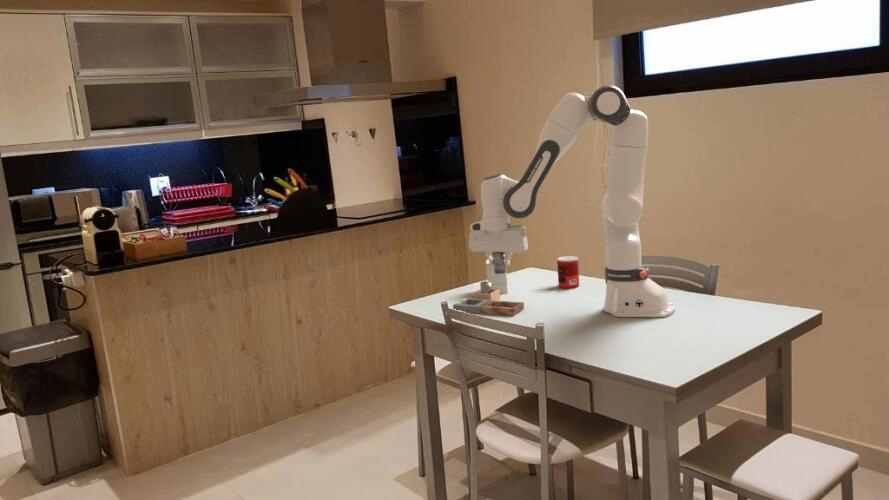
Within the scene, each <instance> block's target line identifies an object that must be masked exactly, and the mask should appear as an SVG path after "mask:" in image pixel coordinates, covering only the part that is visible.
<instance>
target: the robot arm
mask: <svg viewBox="0 0 889 500" xmlns="http://www.w3.org/2000/svg"><path fill="white" fill-rule="evenodd" d="M591 120H592V121H593V120H594V121H599V122H601V123H607V124H608V125H610V127H611V130H612V131H611V132H612V134H611V135H612V136H611V143H610V144H611V145H610V149H609V150H610V152H609V158H608V160H609V161H608V168H607V192H606V193H605V195H604V197H603V198H602V201H601V212H602V213H601V214H602V226H603V237H604V243H605V244H604V246H605V264H606V266H605V267H604V279H605V280H604V281H605V284H606V287H605V288H606V291H605V297H604V304H603V306H602V307H603V308H602V309H603V311H604V312H606V313H609V314H611V315H612V316H614V317H618V318H664V317H665V318H666V317H669V316H670V315H672V314H673V313H674V312H676V304H675V303H673V302H669V299H668V295H667V292H666V289H664V288H663V286H661V285H659V284H658V283H656V282H655V281H653V280H652V279H651V278H649V267H647V268H646V267H644V265H642V245H641V243H642V242H641V241H642V240H641V237H640V229H639V221H640V220H641V218H642V216H643V207H644V192H645V191H644V188H645V168H646V160H647V154H648V153H647V152H648V148H649V147H648V146H649V145H648V144H649V119H648V117H647V115H646V114H645V113H644V112H642V111H640V110H637V109H631V106H630V105H629V102H628V100H627V98H626V95H625V94H624V92H623V91H622V90H621V88H619V87H617V86H615V85H610V84H609V85H608V84H607V85H602V86H600V87H598V88H596V90H594V91H593V92H592V93H590V94H589V95H588V96H584V95H582V94H581V93H577V92H568V93H566V94H565V95H563V97H561V99H560V100H559V101H558V102H557V104H556V105H555V106H554V108H553V109H552V111H551V113H550V114H549V115H548V118H546V121H545V123H544V125H543V127H542V130H541V132H540V134H539V136H538V137H539V138H538V141H537V145H536V149H535V153H534V155H533V157H532V160H531V161H530V163H529V165H528V167H527V168H526V170H525V172H524V174H523V175H522V177H521V178H520V180H519V181H518V180H516V179H512V178H510V177H508V176H506V175H505V174H503V173H498V174H497V173H496V174H492V175H489V176H487V177H485V178H484V179H483V180H482V182H481V185H480V201H481V205H482V210H483V212H482V219H479V220H478V221H475V222H473V223H471V224H470V225H469V230H470V232H469V234H468V235H469V236H468V246H469V250H470V251H471V252H475V253H477V252H480V253H481V252H482V253H484V254H485V256H486V258H487V260H489V264H490V265H494V261H493V252H505V256H507V257H506V258H505V260H504V265H506V266H510V265H511V258H512V257H513V253H524V252H526V251H527V250H528V249H529V243H528V238H527V228H526V226H525V225H523V224H522V223H511V221H510V220H511V219H510V217H512V218H515V219H524V218H527V217H529V216H530V215H532V213H533V212H534V211H535V208H536V203H537V198H538V197H537V196H538V192H539V189H540V187H541V186H542V184H543V182H544V181H545V179H546V178H547V176H548V174H549V172H550V170H551V169H552V167H553V166H554V165H555V163H556V162H558V161H559V160H560V159H561V158H562V157H563V156H564V155H565V153H566V152H568V151H569V149H570V148H571V146H573V144H574V143H575V142H576V140H577V139H578V136H579V135H580V133H581V131H582V129H583V128H584V127H585V125H586V124H587V123H588V122H590V121H591Z"/></svg>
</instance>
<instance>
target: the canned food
mask: <svg viewBox="0 0 889 500" xmlns="http://www.w3.org/2000/svg"><path fill="white" fill-rule="evenodd" d="M556 262H557V263H556V264H557V265H556V266H557V279H558V286H559V289H562V288H563V290H571V289H570V288H573V289H577V288H578V287H579V286H580V275H579V274H580V272H579V271H580V270H579V267H580V266H579V257H578V256H575V255H565V256H560V257H557V259H556ZM576 287H577V288H576Z"/></svg>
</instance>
